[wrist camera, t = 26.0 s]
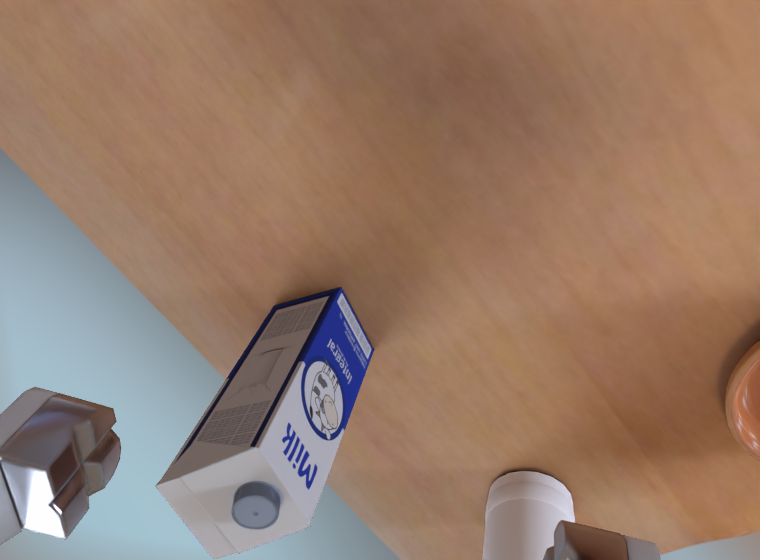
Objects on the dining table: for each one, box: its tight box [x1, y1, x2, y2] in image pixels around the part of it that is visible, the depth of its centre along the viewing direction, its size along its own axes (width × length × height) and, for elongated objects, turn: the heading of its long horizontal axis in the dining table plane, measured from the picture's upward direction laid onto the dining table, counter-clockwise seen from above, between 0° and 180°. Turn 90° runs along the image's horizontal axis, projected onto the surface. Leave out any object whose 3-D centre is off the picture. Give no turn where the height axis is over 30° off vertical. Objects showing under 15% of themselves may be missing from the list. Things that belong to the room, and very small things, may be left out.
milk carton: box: [155, 287, 374, 559], centre depth 45 cm, size 7×7×20 cm
